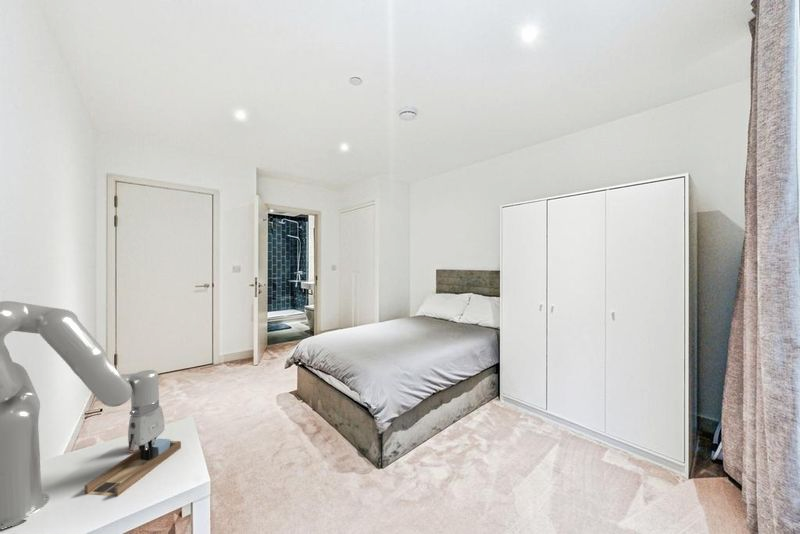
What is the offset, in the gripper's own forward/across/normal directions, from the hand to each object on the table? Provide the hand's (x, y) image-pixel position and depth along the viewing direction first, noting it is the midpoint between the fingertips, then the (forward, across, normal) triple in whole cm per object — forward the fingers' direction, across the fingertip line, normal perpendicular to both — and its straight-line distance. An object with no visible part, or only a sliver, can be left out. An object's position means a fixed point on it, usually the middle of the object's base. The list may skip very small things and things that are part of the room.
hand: (146, 458), depth 110 cm
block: (+1, +5, 0) cm, 5 cm away
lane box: (+2, -3, 0) cm, 4 cm away
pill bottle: (+2, +7, +10) cm, 12 cm away
